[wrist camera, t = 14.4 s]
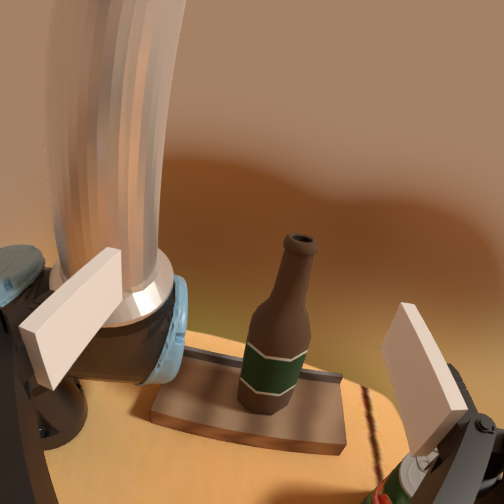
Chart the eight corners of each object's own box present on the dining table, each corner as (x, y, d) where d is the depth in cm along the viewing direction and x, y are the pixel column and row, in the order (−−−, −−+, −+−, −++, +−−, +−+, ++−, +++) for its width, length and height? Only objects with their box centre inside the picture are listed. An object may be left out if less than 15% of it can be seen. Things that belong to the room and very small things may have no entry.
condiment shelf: (151, 422, 38) (149, 403, 36) (177, 363, 50) (177, 343, 48) (339, 455, 37) (350, 438, 35) (333, 392, 49) (342, 373, 47)
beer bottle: (227, 381, 44) (254, 223, 35) (276, 374, 47) (315, 225, 38) (245, 422, 38) (284, 254, 28) (297, 411, 41) (353, 253, 31)
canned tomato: (418, 528, 24) (469, 490, 20) (366, 546, 23) (415, 514, 19) (400, 484, 32) (442, 440, 27) (350, 497, 30) (389, 455, 26)
